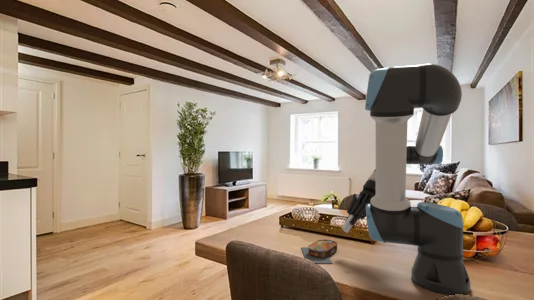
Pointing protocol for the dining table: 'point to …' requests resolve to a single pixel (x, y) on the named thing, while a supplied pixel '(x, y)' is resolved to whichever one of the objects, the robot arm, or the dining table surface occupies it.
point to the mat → (315, 259)
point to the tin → (322, 248)
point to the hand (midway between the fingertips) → (344, 230)
